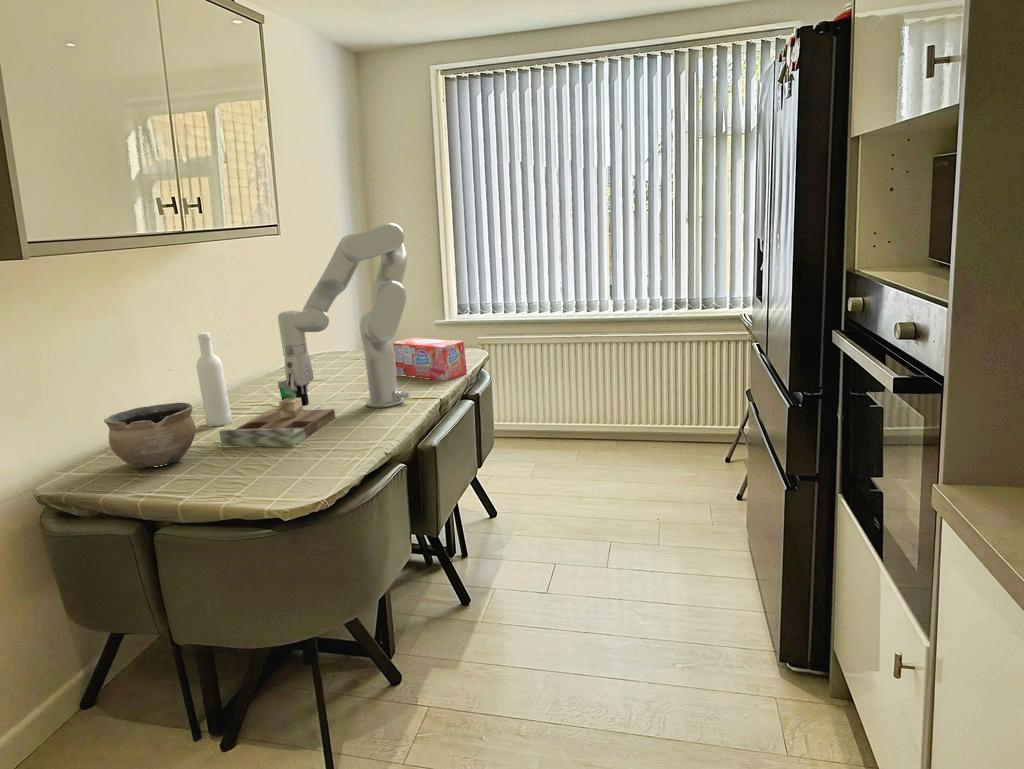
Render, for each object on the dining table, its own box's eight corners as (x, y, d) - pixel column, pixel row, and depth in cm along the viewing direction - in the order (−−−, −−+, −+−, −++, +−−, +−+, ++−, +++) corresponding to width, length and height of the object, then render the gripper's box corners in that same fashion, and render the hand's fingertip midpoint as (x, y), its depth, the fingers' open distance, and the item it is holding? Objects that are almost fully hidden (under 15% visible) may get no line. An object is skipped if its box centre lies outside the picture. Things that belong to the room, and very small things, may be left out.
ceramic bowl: (111, 483, 196) (99, 428, 192) (117, 460, 215) (106, 410, 212) (202, 465, 204) (192, 412, 201) (200, 445, 224) (191, 396, 220)
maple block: (303, 412, 239) (301, 397, 238) (295, 417, 234) (293, 401, 233) (288, 413, 240) (286, 398, 239) (281, 417, 235) (278, 402, 234)
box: (468, 374, 290) (464, 339, 287) (446, 381, 280) (442, 345, 277) (418, 369, 306) (414, 336, 303) (395, 376, 297) (391, 342, 293)
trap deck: (335, 418, 241) (333, 403, 240) (294, 446, 215) (291, 429, 214) (270, 419, 246) (267, 404, 245) (222, 447, 220) (219, 430, 218)
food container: (298, 410, 255) (294, 381, 253) (281, 410, 257) (277, 382, 254) (314, 400, 267) (310, 373, 265) (298, 401, 268) (294, 373, 266)
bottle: (207, 422, 249) (190, 333, 242) (232, 418, 252) (216, 330, 245) (206, 428, 242) (189, 336, 235) (232, 424, 244) (216, 333, 237)
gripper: (294, 354, 232) (303, 411, 237) (316, 344, 247) (323, 398, 251) (272, 355, 234) (281, 411, 238) (295, 345, 248) (303, 399, 253)
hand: (303, 405), depth 245 cm, fingers closed
